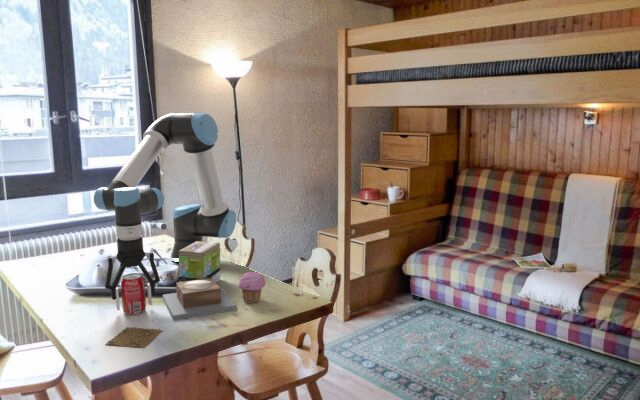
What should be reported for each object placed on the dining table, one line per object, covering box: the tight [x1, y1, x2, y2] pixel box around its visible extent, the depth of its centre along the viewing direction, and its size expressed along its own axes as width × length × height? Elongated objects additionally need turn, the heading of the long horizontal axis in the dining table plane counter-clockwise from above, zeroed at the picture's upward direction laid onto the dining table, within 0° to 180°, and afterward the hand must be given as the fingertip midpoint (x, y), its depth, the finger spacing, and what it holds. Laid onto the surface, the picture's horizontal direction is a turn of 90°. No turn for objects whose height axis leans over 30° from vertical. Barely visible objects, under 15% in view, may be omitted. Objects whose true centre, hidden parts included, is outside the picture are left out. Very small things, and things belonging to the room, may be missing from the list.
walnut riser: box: [175, 278, 221, 309], centre depth 176 cm, size 12×12×5 cm
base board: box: [162, 285, 237, 321], centre depth 177 cm, size 20×20×2 cm
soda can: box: [120, 272, 147, 316], centre depth 169 cm, size 7×7×12 cm
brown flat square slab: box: [104, 326, 164, 349], centre depth 152 cm, size 12×12×1 cm
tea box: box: [178, 241, 221, 283], centre depth 195 cm, size 15×10×15 cm, turn 168°
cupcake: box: [238, 271, 266, 304], centre depth 179 cm, size 9×9×10 cm
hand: (134, 306), depth 170 cm, fingers open, 9 cm apart
